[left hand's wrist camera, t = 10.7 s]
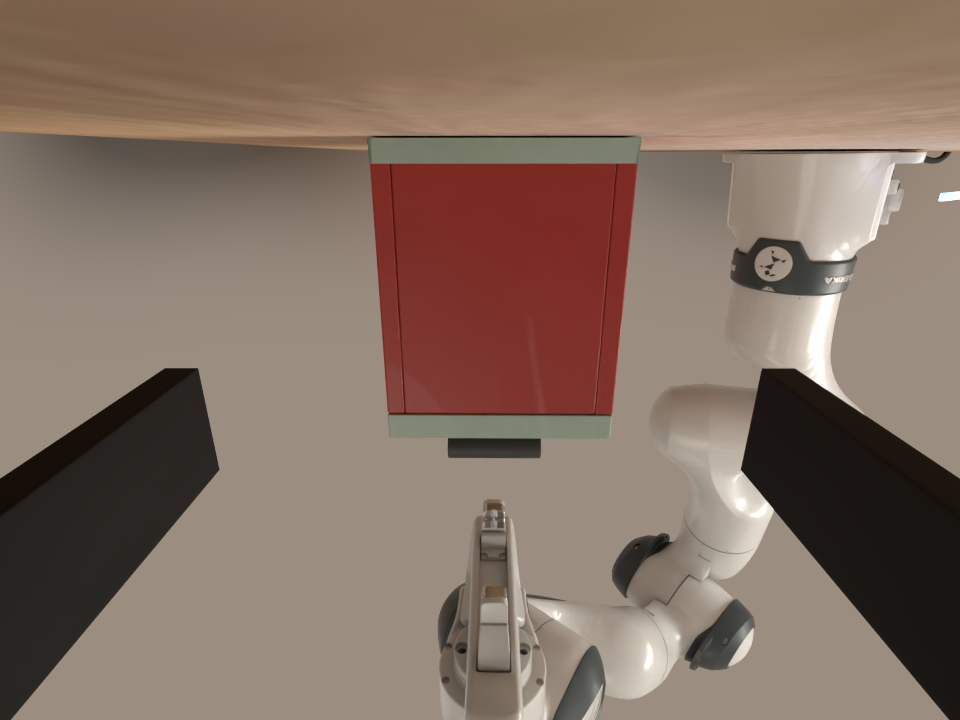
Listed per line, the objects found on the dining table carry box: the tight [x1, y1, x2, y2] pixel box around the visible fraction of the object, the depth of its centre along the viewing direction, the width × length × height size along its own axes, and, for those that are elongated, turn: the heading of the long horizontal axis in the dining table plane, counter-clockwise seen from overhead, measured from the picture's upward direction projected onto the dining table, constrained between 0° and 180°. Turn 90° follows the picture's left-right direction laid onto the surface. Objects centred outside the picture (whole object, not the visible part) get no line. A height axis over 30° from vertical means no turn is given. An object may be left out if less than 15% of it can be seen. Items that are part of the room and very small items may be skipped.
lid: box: [388, 412, 612, 458], centre depth 30 cm, size 14×10×9 cm
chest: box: [367, 138, 641, 414], centre depth 26 cm, size 13×10×11 cm
